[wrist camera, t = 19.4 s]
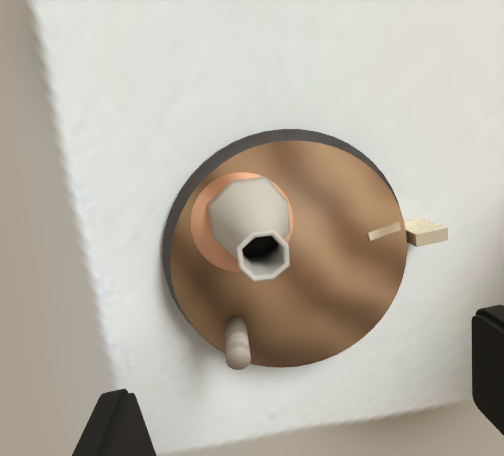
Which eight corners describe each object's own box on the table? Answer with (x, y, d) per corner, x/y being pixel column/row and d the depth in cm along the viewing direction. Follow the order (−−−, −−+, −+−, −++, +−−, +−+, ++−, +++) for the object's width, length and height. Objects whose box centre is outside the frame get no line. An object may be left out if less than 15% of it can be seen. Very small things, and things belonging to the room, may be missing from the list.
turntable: (279, 86, 28) (298, 69, 22) (439, 241, 34) (494, 267, 27) (125, 273, 31) (99, 309, 25) (293, 389, 37) (310, 446, 30)
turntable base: (415, 101, 31) (443, 96, 27) (427, 324, 38) (451, 345, 34) (134, 157, 30) (121, 160, 26) (196, 376, 37) (193, 404, 33)
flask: (229, 269, 30) (233, 331, 20) (192, 198, 28) (178, 228, 18) (302, 236, 30) (341, 282, 20) (270, 161, 28) (297, 173, 18)
